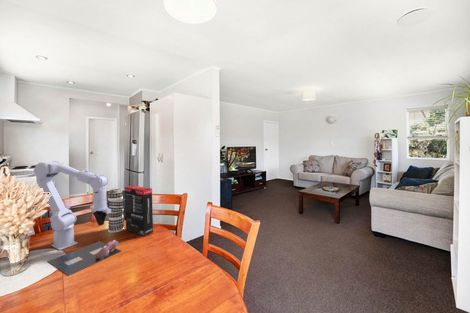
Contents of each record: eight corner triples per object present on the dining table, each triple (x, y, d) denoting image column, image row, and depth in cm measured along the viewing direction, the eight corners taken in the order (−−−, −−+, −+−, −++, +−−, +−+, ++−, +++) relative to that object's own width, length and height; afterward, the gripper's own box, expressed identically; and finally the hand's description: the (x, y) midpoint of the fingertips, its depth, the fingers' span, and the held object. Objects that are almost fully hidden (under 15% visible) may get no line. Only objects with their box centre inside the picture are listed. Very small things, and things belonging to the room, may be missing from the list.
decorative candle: (114, 226, 133) (113, 187, 131) (128, 227, 132) (127, 188, 130) (104, 232, 124) (102, 191, 122) (118, 233, 123) (117, 191, 121)
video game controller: (101, 262, 94) (107, 250, 94) (93, 257, 95) (98, 245, 94) (116, 251, 104) (122, 240, 103) (109, 247, 105) (114, 235, 104)
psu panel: (47, 261, 93) (47, 261, 93) (99, 241, 112) (99, 241, 112) (68, 275, 83) (68, 275, 83) (121, 251, 102) (121, 250, 102)
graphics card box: (154, 232, 124) (153, 187, 123) (144, 236, 118) (143, 189, 116) (134, 227, 132) (133, 184, 130) (124, 231, 126) (123, 186, 124)
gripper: (83, 199, 107) (84, 225, 108) (100, 202, 101) (101, 230, 102) (97, 196, 114) (98, 220, 114) (114, 199, 107) (115, 225, 108)
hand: (100, 224), depth 109 cm, fingers closed
